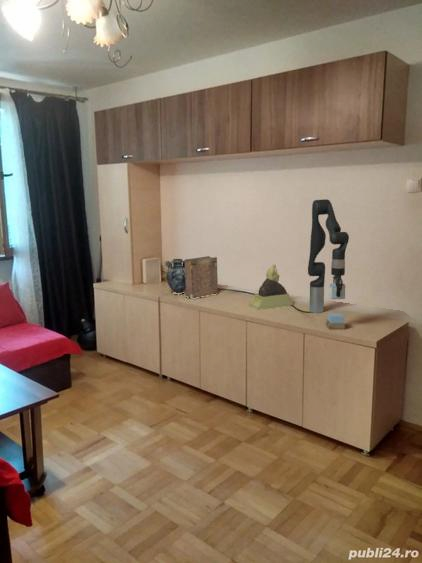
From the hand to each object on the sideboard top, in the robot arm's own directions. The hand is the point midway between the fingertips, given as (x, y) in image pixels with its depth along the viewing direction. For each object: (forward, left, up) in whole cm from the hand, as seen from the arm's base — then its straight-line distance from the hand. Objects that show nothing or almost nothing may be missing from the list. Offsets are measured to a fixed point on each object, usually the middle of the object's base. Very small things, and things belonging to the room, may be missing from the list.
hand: (337, 295), depth 267 cm
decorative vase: (-96, -107, -19) cm, 145 cm away
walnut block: (0, -1, -20) cm, 20 cm away
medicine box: (0, 0, -2) cm, 2 cm away
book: (-86, -87, -20) cm, 124 cm away
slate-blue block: (0, 0, -16) cm, 16 cm away
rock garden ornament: (-53, -35, -20) cm, 67 cm away
